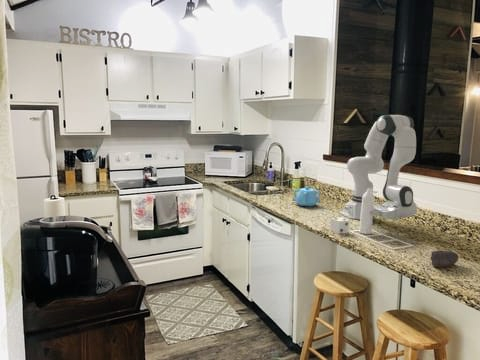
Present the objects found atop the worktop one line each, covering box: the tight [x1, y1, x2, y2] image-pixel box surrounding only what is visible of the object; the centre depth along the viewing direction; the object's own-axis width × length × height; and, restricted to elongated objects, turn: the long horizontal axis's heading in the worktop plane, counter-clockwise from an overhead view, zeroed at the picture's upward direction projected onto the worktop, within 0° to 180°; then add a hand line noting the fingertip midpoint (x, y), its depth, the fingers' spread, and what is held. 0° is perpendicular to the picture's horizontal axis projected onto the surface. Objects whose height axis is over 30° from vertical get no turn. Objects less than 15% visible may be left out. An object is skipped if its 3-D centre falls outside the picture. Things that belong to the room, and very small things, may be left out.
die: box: [330, 216, 350, 235], centre depth 211 cm, size 7×7×7 cm
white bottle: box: [358, 188, 378, 235], centre depth 206 cm, size 9×6×25 cm
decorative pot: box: [292, 186, 321, 208], centre depth 273 cm, size 16×16×14 cm
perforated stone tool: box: [430, 250, 459, 268], centre depth 164 cm, size 15×5×7 cm, turn 108°
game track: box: [349, 229, 415, 251], centre depth 200 cm, size 31×14×1 cm, turn 25°
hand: (366, 211), depth 207 cm, fingers closed on white bottle, 6 cm apart
